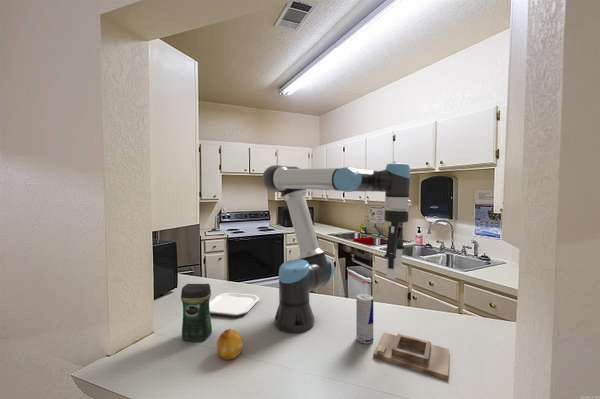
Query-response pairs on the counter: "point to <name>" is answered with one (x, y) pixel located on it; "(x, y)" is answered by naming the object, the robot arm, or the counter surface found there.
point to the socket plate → (414, 354)
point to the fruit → (229, 344)
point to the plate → (232, 304)
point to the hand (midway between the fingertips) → (394, 272)
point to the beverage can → (364, 318)
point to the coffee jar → (196, 312)
